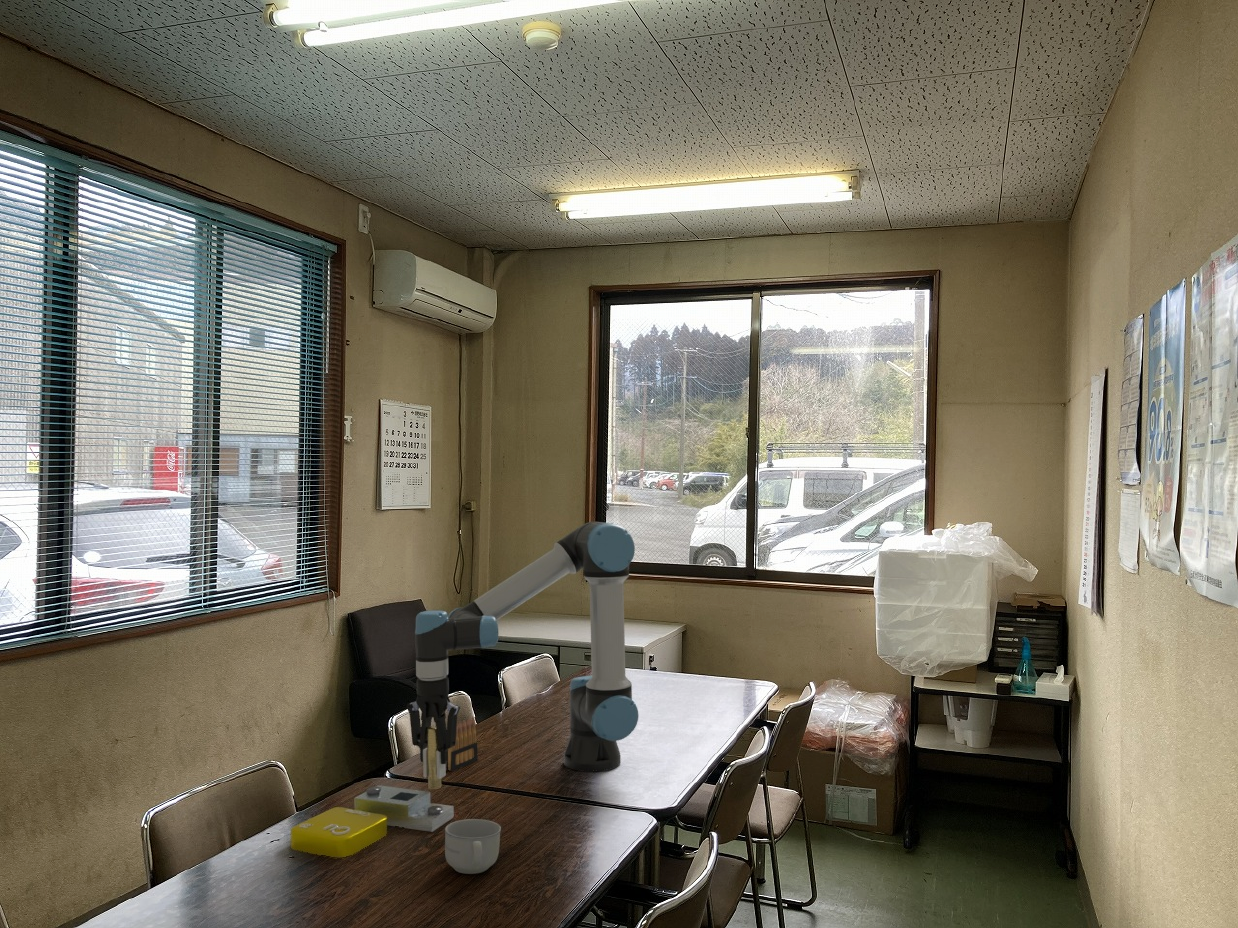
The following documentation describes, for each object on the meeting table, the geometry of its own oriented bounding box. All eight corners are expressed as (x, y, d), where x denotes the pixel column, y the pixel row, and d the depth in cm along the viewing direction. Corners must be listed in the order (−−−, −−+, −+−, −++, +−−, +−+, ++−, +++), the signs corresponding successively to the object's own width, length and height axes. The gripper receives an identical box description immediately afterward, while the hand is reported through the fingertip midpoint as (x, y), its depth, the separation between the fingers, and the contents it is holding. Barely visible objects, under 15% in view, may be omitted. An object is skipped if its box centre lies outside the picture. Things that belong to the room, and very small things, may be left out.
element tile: (391, 835, 196) (391, 812, 196) (343, 861, 182) (343, 837, 183) (335, 824, 202) (336, 803, 202) (286, 850, 189) (286, 826, 189)
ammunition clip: (451, 771, 237) (451, 725, 238) (446, 770, 238) (446, 724, 239) (478, 760, 247) (477, 716, 247) (472, 759, 248) (472, 715, 248)
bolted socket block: (453, 817, 205) (453, 791, 205) (432, 831, 197) (432, 804, 197) (378, 806, 212) (378, 781, 212) (354, 820, 204) (354, 794, 204)
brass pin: (443, 785, 217) (442, 726, 217) (436, 789, 214) (435, 729, 214) (432, 784, 218) (431, 725, 218) (425, 788, 215) (424, 728, 215)
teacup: (448, 857, 183) (447, 817, 184) (502, 855, 184) (502, 815, 184) (440, 888, 170) (440, 844, 170) (499, 885, 170) (498, 842, 171)
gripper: (470, 675, 217) (472, 774, 217) (412, 671, 222) (414, 768, 222) (454, 682, 210) (456, 784, 210) (394, 678, 215) (396, 778, 215)
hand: (434, 776), depth 216 cm, fingers closed on brass pin, 3 cm apart
